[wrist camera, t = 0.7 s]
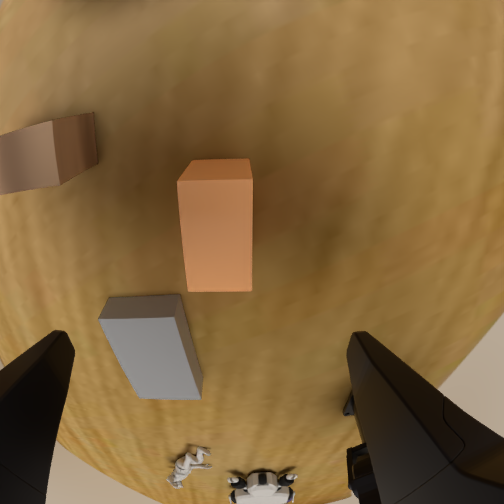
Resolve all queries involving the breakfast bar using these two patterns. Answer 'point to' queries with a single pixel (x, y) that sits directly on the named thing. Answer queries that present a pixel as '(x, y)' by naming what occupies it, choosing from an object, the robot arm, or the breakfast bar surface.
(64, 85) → the breakfast bar surface
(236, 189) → the orange brick
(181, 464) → the white plastic figure
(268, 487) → the robot toy
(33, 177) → the walnut brick
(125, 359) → the grey brick
